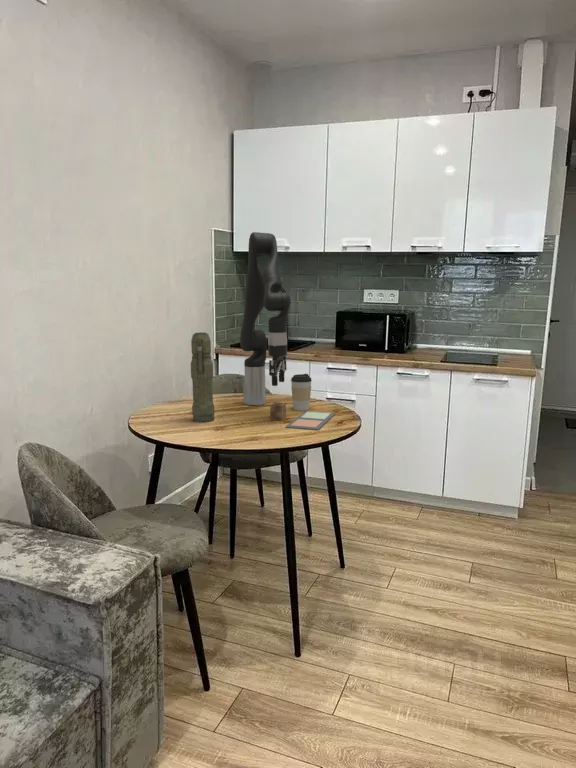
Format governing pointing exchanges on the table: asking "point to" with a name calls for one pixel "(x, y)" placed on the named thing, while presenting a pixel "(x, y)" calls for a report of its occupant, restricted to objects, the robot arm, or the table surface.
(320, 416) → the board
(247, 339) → the robot arm
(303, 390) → the coffee cup
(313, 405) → the table surface
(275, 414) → the walnut block
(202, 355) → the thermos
